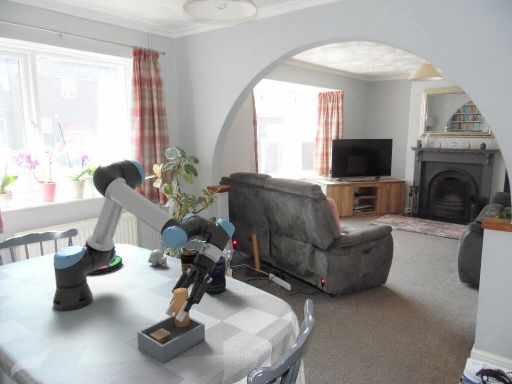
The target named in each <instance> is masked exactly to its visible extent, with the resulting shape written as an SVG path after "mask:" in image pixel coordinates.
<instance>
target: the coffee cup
mask: <svg viewBox="0 0 512 384" xmlns="http://www.w3.org/2000/svg"><path fill="white" fill-rule="evenodd" d="M198 254H199V253H197V251H196V250H186V251H182V252H181V254H180V256H179V259H180V265H181V266H180V267H181V272H182V273H181V274H183V270H184V268H187V269H191V267H192V266H193V265H194V260H195V258H196V257H197V255H198Z"/></svg>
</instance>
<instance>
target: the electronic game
mask: <svg viewBox="0 0 512 384" xmlns="http://www.w3.org/2000/svg"><path fill="white" fill-rule="evenodd" d="M122 263H123V258H122V257H121V256H120V255H117V254H116V255H115V258H114V260H113V261H112V262H111V263H109V264H108V265H106V266H104V267H101V268H99V269H97V270H94V271H92V272H89V273H87V274H90V275H91V274H92V275H93V274H94V275H95V274H102V273H107V272H111V271H113V270H115V269H117V268H118V267H119V266H120V265H121V264H122Z"/></svg>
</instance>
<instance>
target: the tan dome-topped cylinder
mask: <svg viewBox="0 0 512 384" xmlns="http://www.w3.org/2000/svg"><path fill="white" fill-rule="evenodd" d="M173 293H174V294H173V297H174V313H173V314H175V325H176V326H177V327H185V326H188V325H189V324H190V319H189V317H190V311H189V312H188V313H186V315H185V317H184V319H183V321H182V322H180V321H179V320H177V319H176V316H177V315H178V313H179V311H180V309H181V308H182V306H183V304H184V302H185V301H187V299H189V296H190V295H189V288H188V289H186V288H178V289H175V290H174V291H173Z"/></svg>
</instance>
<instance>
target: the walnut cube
mask: <svg viewBox="0 0 512 384" xmlns="http://www.w3.org/2000/svg"><path fill="white" fill-rule="evenodd" d="M150 338H152V339H154V340H156V341H157V342H159V343H161V344H162V345H163V344H165V343H167V342H169V341H171V340H172V335H171V333H170V332H168V331H166V330H165V329H163V328H161V329H159V330H157V331H155V332H153V333H151V334H150Z"/></svg>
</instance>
